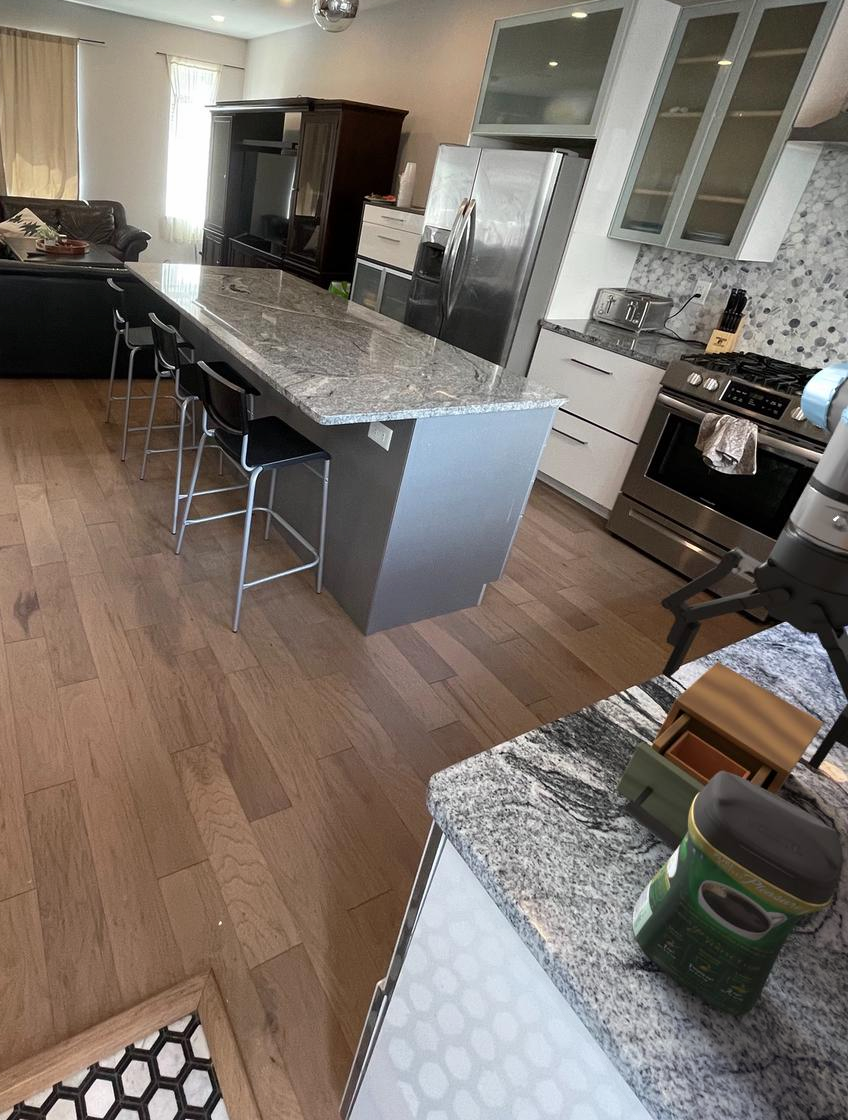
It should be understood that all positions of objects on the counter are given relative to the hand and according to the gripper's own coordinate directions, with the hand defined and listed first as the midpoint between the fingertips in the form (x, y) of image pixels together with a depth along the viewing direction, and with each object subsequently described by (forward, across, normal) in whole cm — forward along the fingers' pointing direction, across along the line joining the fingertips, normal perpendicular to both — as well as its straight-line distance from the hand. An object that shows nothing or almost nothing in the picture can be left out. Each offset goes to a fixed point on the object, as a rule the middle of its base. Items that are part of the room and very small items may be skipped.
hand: (737, 713), depth 66 cm
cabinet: (+14, 0, +11) cm, 18 cm away
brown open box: (+12, 0, 0) cm, 12 cm away
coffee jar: (+14, +7, -17) cm, 23 cm away
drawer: (+13, 0, -3) cm, 13 cm away
